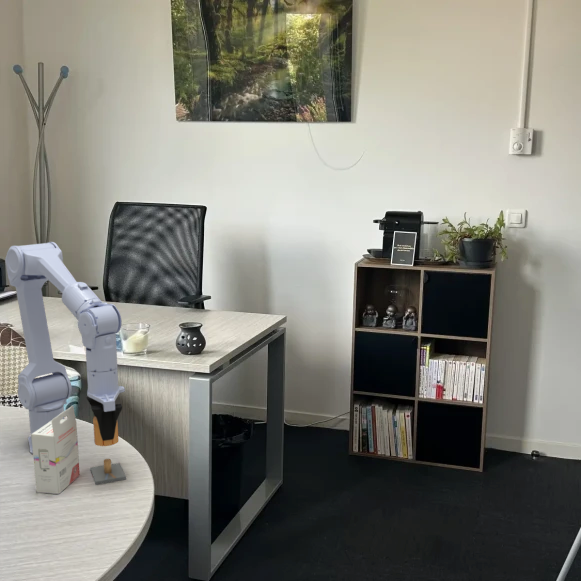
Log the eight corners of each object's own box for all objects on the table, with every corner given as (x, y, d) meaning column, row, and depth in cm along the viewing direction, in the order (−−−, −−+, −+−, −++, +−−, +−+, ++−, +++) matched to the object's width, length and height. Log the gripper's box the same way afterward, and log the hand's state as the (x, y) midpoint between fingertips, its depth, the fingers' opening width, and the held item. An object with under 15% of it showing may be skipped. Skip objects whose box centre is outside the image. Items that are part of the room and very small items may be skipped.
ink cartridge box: (57, 473, 146) (52, 402, 143) (80, 475, 145) (76, 404, 142) (34, 492, 137) (28, 418, 135) (58, 495, 136) (53, 420, 134)
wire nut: (92, 439, 145) (91, 415, 144) (116, 436, 147) (115, 412, 146) (96, 447, 141) (94, 423, 140) (120, 444, 142) (119, 419, 142)
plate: (90, 470, 147) (89, 455, 146) (119, 465, 149) (119, 451, 149) (95, 484, 141) (94, 469, 140) (126, 479, 143) (125, 464, 142)
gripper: (130, 375, 136) (133, 445, 138) (116, 356, 149) (120, 419, 151) (91, 380, 133) (95, 450, 136) (81, 360, 146) (85, 424, 149)
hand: (105, 434), depth 143 cm, fingers closed on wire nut, 4 cm apart
